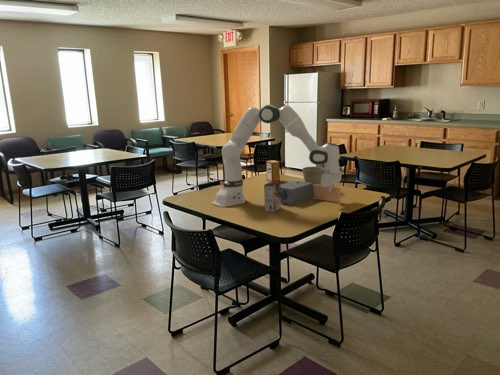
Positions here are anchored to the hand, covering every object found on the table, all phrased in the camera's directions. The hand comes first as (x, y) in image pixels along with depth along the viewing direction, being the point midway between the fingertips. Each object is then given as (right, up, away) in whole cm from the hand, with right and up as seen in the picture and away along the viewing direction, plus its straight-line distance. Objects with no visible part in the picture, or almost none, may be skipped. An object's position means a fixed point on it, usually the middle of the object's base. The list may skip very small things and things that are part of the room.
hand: (331, 191), depth 253 cm
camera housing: (-22, -6, +11) cm, 25 cm away
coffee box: (-37, -11, -9) cm, 39 cm away
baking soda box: (-32, +7, +68) cm, 76 cm away
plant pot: (-6, 0, +33) cm, 33 cm away
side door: (-2, -5, +7) cm, 9 cm away
